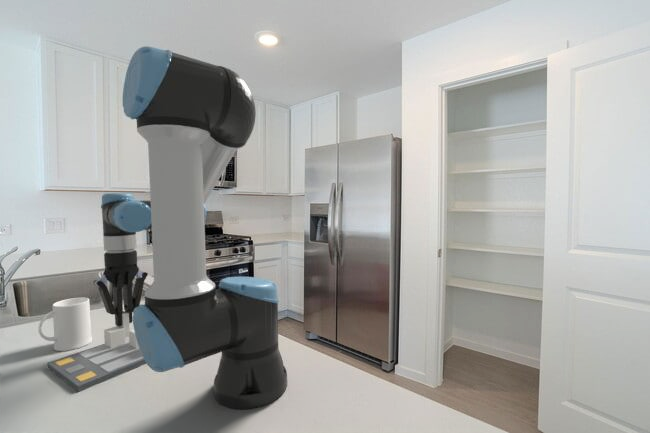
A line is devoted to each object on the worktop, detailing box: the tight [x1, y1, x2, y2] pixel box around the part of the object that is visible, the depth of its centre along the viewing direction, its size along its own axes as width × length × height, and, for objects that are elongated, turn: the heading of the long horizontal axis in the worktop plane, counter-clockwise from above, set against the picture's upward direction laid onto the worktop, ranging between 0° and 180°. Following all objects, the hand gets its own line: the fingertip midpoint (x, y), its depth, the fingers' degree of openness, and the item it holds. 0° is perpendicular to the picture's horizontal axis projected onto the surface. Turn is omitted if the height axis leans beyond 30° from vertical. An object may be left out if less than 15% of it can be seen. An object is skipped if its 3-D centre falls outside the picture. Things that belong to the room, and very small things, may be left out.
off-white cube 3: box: [103, 325, 125, 348], centre depth 88 cm, size 4×4×4 cm
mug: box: [38, 297, 93, 352], centre depth 90 cm, size 12×8×12 cm
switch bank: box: [46, 337, 147, 392], centre depth 83 cm, size 18×22×1 cm
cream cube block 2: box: [129, 328, 139, 348], centre depth 88 cm, size 4×4×4 cm
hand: (124, 336), depth 90 cm, fingers closed
